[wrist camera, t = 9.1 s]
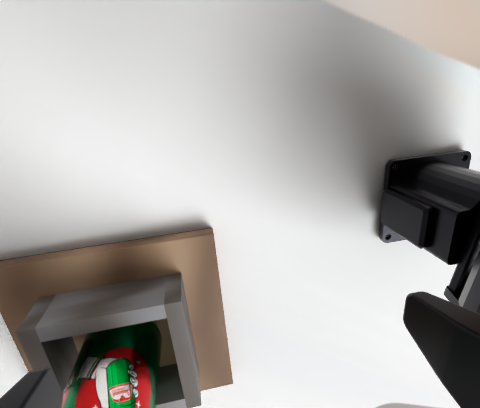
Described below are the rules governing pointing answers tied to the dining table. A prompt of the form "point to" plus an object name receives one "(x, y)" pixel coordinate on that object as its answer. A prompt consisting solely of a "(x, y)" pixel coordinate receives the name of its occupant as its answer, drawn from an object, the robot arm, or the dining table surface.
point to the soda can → (116, 369)
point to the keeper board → (124, 307)
